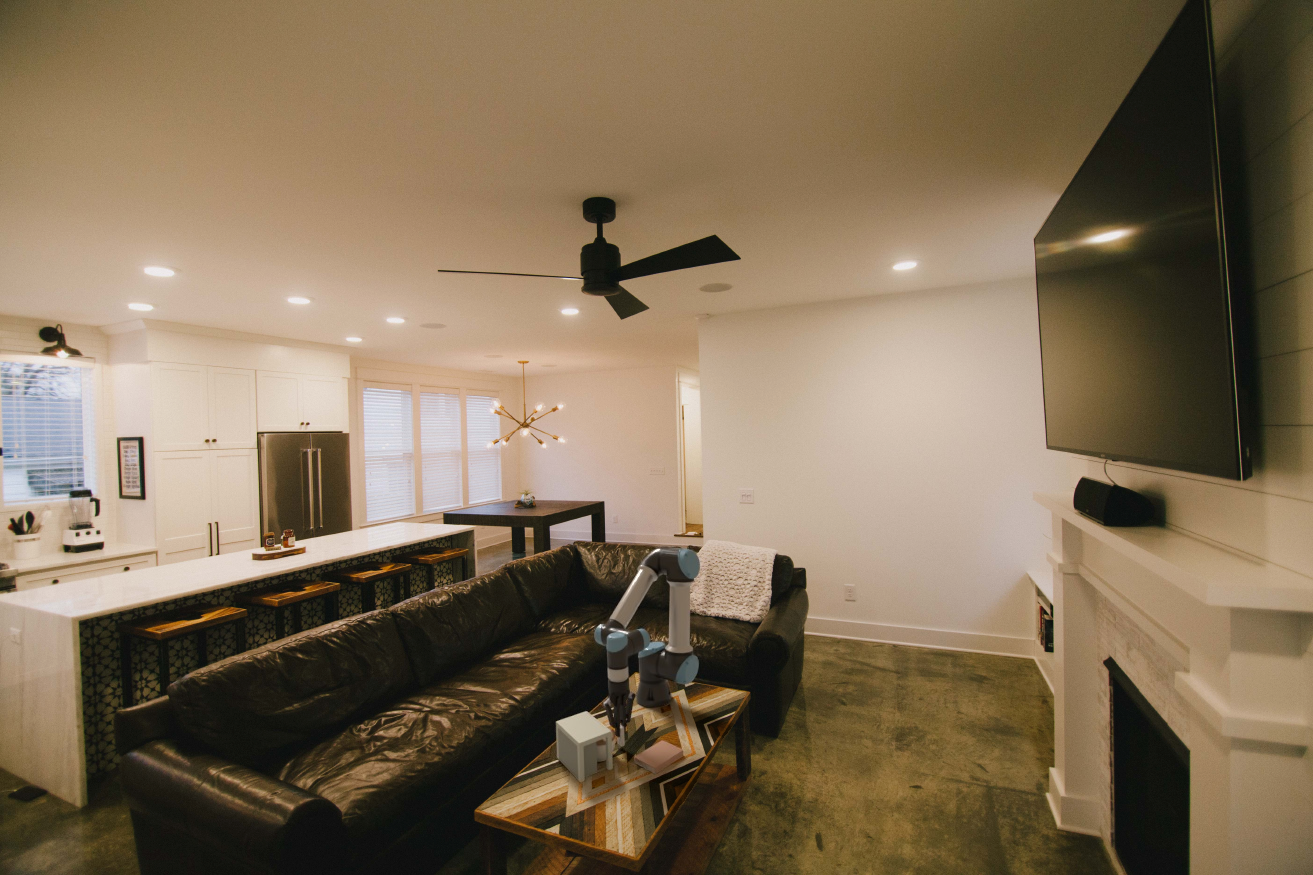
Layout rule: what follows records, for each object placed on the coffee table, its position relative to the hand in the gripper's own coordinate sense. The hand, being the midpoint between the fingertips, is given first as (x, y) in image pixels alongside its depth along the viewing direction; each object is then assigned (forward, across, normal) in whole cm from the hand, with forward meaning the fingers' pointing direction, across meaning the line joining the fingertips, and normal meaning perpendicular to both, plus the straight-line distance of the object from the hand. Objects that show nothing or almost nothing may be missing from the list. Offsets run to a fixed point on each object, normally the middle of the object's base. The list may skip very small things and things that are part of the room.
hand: (621, 744), depth 193 cm
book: (+2, -7, +14) cm, 16 cm away
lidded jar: (+2, +8, 0) cm, 8 cm away
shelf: (+1, +15, 0) cm, 15 cm away
